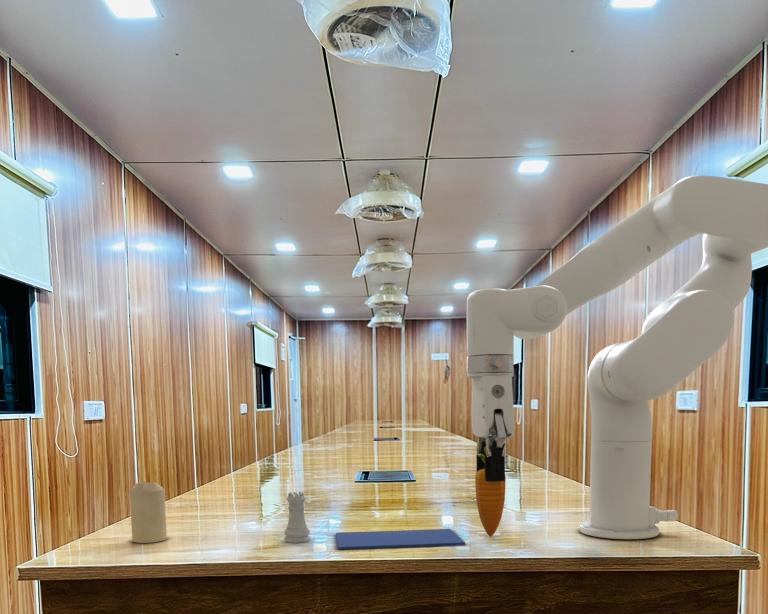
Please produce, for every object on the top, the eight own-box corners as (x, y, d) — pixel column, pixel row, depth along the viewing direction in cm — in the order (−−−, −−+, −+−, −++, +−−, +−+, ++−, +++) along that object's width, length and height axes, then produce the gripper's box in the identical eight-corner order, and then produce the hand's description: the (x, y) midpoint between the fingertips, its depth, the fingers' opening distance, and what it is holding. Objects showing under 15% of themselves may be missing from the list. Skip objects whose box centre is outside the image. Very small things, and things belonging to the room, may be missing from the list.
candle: (173, 538, 113) (170, 480, 112) (150, 544, 108) (146, 483, 107) (149, 536, 115) (146, 479, 114) (125, 542, 110) (121, 482, 109)
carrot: (505, 539, 107) (505, 447, 105) (474, 539, 108) (474, 447, 106) (505, 533, 112) (505, 445, 110) (476, 533, 113) (476, 446, 111)
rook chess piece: (316, 540, 109) (315, 492, 108) (295, 544, 106) (293, 495, 105) (299, 537, 112) (297, 490, 111) (278, 541, 109) (276, 493, 108)
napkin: (450, 531, 115) (450, 528, 115) (465, 545, 103) (465, 542, 103) (336, 534, 113) (335, 532, 113) (337, 549, 102) (337, 547, 101)
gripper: (529, 364, 99) (528, 484, 101) (498, 370, 116) (498, 473, 118) (480, 365, 98) (480, 486, 100) (456, 371, 115) (457, 475, 117)
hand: (490, 478), depth 109 cm, fingers closed on carrot, 4 cm apart
